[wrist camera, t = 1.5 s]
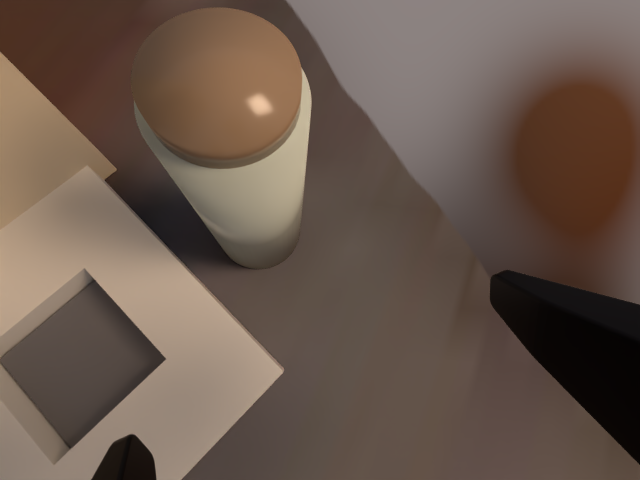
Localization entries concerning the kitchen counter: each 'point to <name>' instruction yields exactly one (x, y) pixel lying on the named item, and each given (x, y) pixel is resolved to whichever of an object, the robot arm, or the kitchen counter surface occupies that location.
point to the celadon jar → (229, 126)
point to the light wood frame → (101, 315)
